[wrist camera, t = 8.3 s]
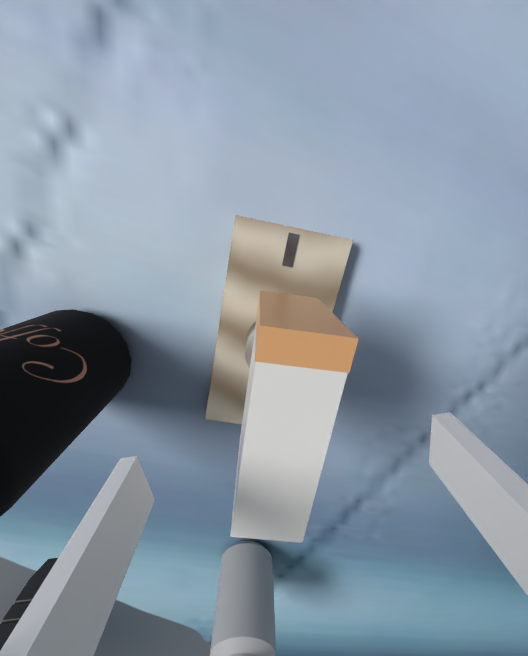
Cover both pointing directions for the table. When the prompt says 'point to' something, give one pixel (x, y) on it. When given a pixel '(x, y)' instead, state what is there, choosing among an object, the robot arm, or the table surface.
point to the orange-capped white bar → (288, 414)
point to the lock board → (268, 275)
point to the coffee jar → (52, 390)
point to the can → (245, 603)
